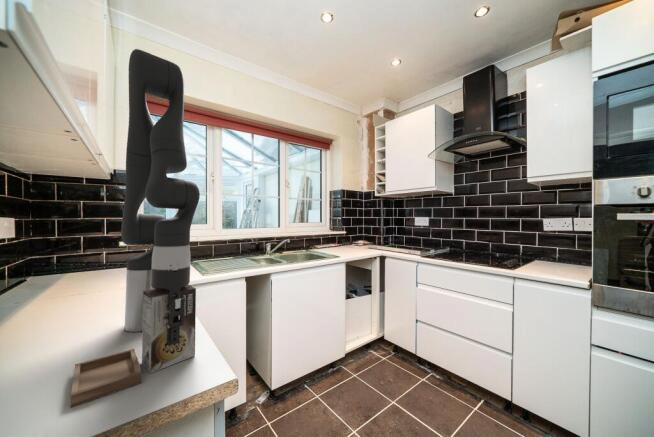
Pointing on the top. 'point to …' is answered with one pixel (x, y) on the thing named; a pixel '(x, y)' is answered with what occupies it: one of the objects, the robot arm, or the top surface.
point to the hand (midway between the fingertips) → (169, 337)
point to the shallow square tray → (105, 376)
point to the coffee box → (155, 329)
